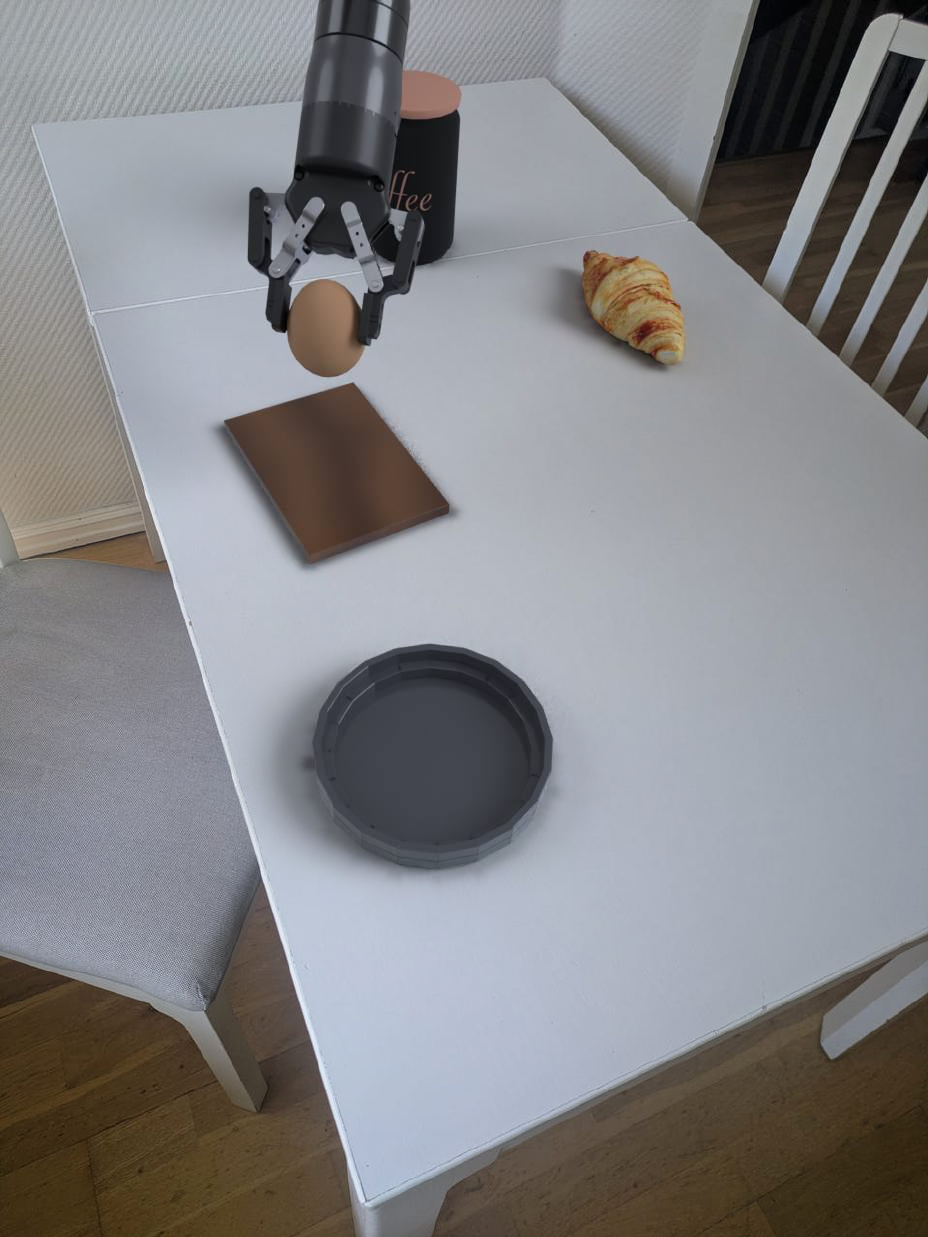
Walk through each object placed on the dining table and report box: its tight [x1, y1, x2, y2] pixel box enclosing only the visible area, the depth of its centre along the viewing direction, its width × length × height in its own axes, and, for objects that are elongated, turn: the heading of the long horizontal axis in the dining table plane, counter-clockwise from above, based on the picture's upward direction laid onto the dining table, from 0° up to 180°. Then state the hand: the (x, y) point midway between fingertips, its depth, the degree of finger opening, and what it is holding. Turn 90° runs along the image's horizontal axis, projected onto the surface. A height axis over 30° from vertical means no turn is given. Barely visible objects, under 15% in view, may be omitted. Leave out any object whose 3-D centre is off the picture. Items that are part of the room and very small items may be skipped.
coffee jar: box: [372, 69, 463, 266], centre depth 106 cm, size 11×11×18 cm
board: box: [223, 381, 450, 565], centre depth 86 cm, size 14×20×1 cm
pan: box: [311, 643, 554, 870], centre depth 66 cm, size 17×17×3 cm
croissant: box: [581, 249, 687, 366], centre depth 103 cm, size 21×10×8 cm, turn 24°
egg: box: [286, 278, 366, 378], centre depth 74 cm, size 6×6×8 cm
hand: (321, 336), depth 72 cm, fingers closed on egg, 6 cm apart
